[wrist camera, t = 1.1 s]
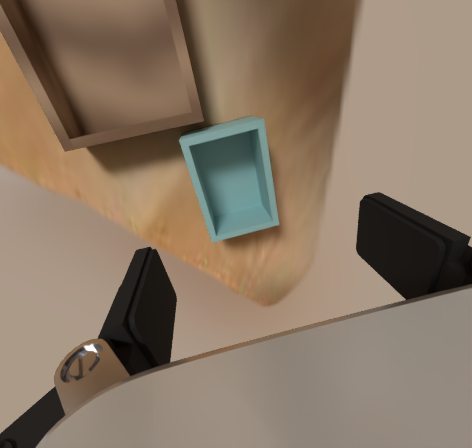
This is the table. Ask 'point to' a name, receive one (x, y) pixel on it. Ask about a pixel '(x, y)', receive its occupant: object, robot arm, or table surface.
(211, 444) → the robot arm
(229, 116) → the table surface
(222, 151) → the teal crate
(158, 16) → the walnut crate
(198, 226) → the table surface
